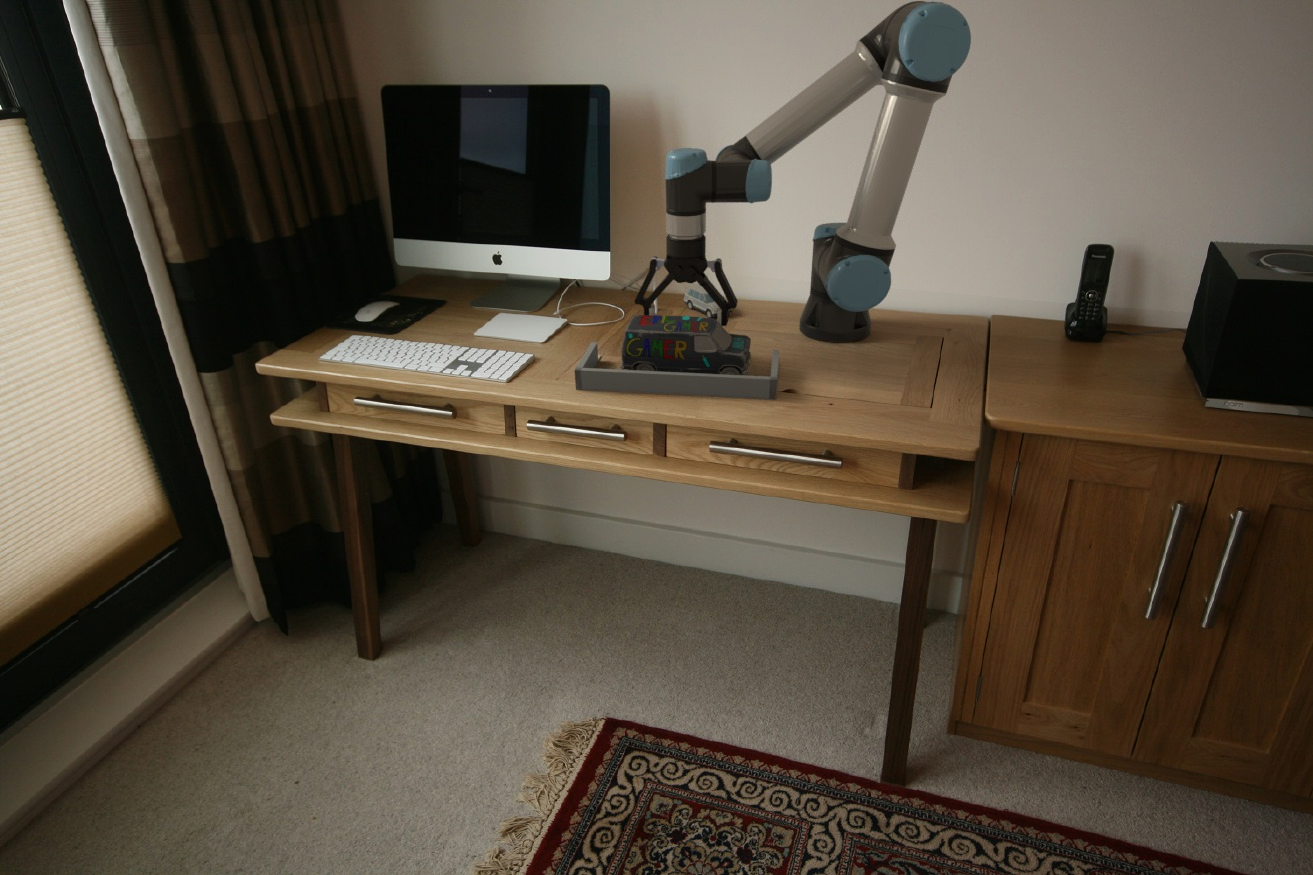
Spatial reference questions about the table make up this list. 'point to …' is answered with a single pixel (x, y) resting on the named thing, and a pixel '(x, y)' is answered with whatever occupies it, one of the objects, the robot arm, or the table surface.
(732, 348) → the toy van
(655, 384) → the bay
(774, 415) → the table surface
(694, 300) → the toy car
